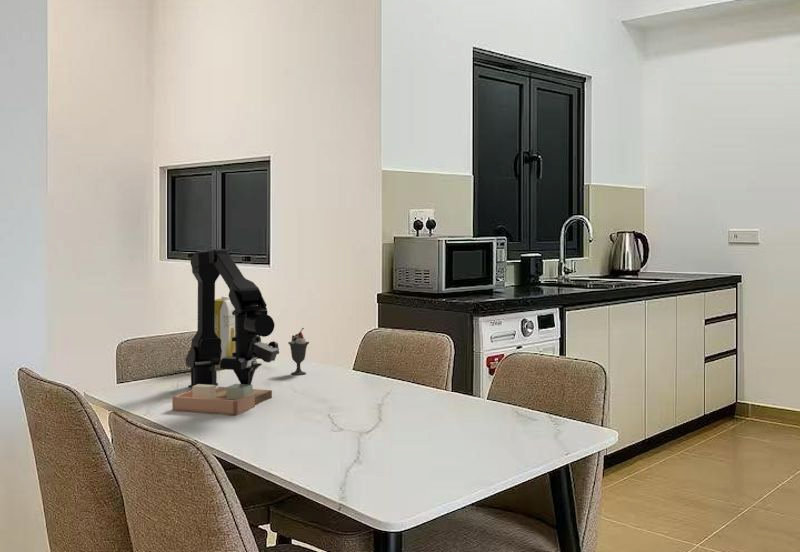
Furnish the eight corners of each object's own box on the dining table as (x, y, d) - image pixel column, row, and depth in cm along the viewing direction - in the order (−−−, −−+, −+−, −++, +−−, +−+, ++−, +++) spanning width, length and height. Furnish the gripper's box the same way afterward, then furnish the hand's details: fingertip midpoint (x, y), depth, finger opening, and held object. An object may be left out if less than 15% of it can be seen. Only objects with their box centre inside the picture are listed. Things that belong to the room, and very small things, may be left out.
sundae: (307, 375, 249) (307, 328, 248) (286, 375, 249) (286, 328, 249) (310, 372, 256) (310, 326, 255) (289, 371, 256) (289, 326, 255)
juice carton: (226, 369, 260) (226, 297, 258) (204, 368, 261) (203, 296, 260) (238, 365, 269) (237, 295, 268) (216, 364, 270) (216, 294, 269)
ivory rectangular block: (198, 402, 206) (192, 405, 203) (198, 384, 206) (192, 386, 203) (215, 404, 205) (210, 406, 202) (215, 385, 205) (209, 387, 202)
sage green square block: (226, 398, 205) (226, 387, 205) (235, 394, 210) (235, 383, 209) (243, 399, 203) (243, 388, 203) (252, 396, 208) (252, 384, 208)
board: (197, 402, 209) (196, 395, 209) (219, 393, 221) (219, 386, 220) (251, 406, 204) (251, 399, 204) (271, 397, 216) (271, 390, 216)
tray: (172, 410, 200) (172, 396, 200) (193, 402, 209) (193, 389, 209) (236, 415, 195) (236, 401, 194) (254, 406, 204) (254, 393, 204)
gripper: (257, 338, 198) (258, 399, 199) (288, 329, 216) (288, 386, 217) (218, 336, 201) (218, 397, 202) (251, 328, 219) (252, 384, 220)
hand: (246, 391), depth 210 cm, fingers closed
